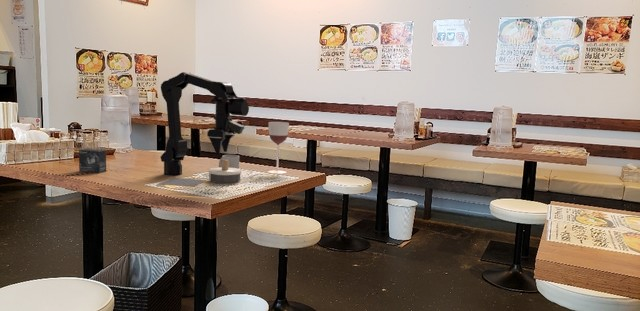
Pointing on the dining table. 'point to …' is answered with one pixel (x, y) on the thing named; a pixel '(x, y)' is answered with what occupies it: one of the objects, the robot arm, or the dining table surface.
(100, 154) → the box
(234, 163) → the cup
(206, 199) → the dining table surface
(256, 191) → the dining table surface
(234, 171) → the lid
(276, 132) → the wineglass
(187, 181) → the mat
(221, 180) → the bowl
